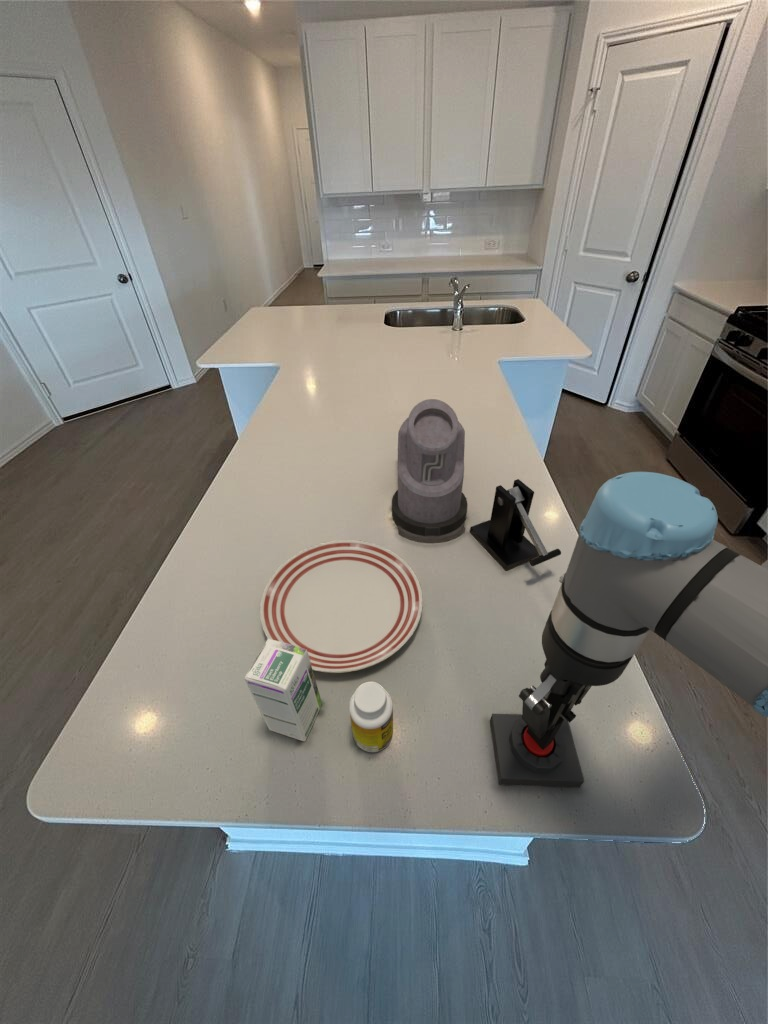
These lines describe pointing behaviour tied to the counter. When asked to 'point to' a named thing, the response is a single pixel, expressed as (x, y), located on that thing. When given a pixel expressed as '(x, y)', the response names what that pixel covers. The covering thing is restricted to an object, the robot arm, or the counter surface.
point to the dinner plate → (343, 604)
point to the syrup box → (285, 689)
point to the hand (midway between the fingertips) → (538, 737)
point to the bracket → (507, 529)
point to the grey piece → (430, 475)
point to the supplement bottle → (371, 717)
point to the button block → (526, 767)
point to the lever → (531, 530)
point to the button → (535, 746)
